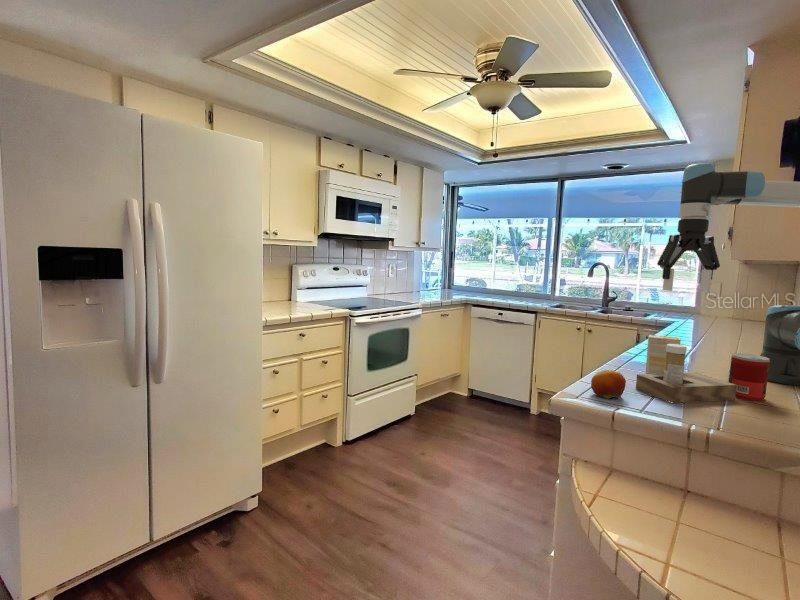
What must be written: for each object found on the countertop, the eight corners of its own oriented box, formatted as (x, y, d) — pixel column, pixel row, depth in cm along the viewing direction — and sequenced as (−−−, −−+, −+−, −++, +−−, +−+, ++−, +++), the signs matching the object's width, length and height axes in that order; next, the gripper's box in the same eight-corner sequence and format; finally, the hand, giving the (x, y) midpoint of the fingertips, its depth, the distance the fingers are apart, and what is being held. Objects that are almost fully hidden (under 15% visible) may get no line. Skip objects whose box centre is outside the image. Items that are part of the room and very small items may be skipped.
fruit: (611, 398, 107) (601, 367, 111) (591, 405, 114) (582, 375, 118) (638, 397, 110) (628, 366, 113) (617, 404, 116) (607, 374, 120)
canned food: (771, 402, 114) (776, 360, 113) (736, 399, 116) (741, 358, 114) (754, 393, 121) (759, 354, 120) (721, 390, 123) (726, 352, 122)
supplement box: (677, 380, 132) (681, 337, 131) (676, 384, 128) (681, 339, 127) (645, 375, 137) (649, 333, 135) (644, 379, 133) (648, 336, 131)
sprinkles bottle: (663, 390, 121) (668, 342, 119) (683, 394, 118) (688, 345, 116) (659, 394, 118) (664, 344, 116) (679, 398, 114) (685, 347, 113)
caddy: (694, 386, 127) (696, 372, 126) (735, 399, 115) (736, 384, 115) (635, 388, 122) (636, 374, 122) (671, 403, 110) (673, 387, 110)
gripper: (668, 215, 124) (661, 291, 126) (739, 220, 129) (731, 292, 132) (648, 217, 131) (641, 289, 133) (716, 222, 137) (708, 290, 139)
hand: (686, 291), depth 132 cm, fingers open, 13 cm apart
